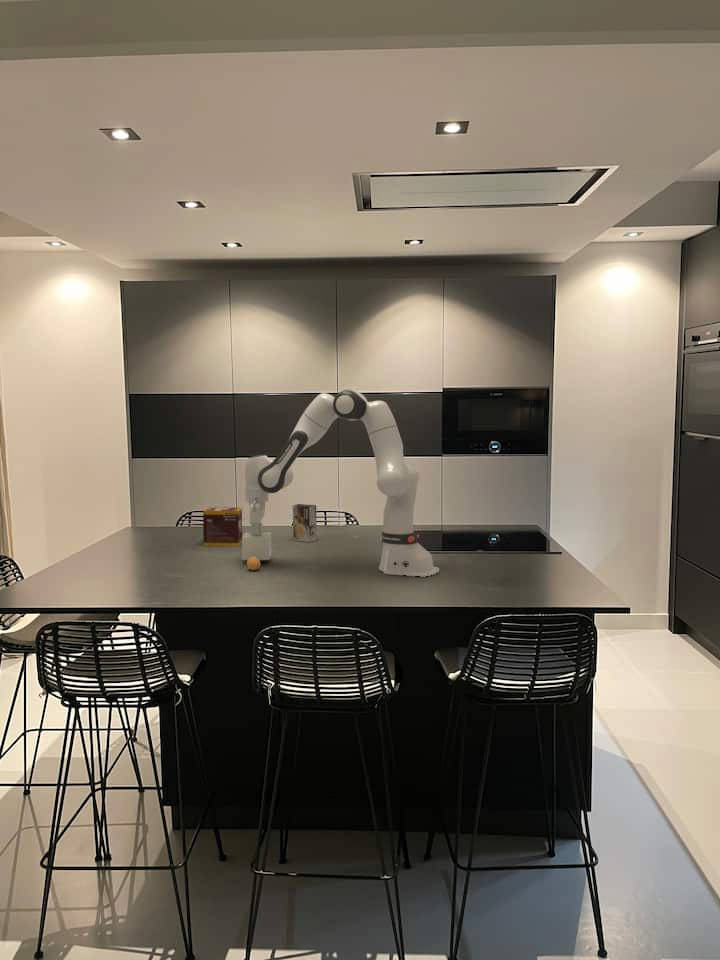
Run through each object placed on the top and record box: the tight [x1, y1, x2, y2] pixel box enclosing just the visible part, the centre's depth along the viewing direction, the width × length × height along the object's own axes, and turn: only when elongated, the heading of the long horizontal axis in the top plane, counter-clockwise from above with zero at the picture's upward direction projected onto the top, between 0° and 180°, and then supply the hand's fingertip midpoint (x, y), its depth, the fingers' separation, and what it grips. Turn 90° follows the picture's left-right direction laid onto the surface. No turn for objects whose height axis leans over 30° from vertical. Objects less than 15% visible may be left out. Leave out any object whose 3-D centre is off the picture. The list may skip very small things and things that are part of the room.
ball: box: [246, 557, 261, 572], centre depth 274 cm, size 5×5×5 cm
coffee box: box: [292, 503, 318, 543], centre depth 333 cm, size 9×6×16 cm
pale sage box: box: [241, 523, 272, 561], centre depth 288 cm, size 10×10×13 cm
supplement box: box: [202, 506, 243, 547], centre depth 324 cm, size 10×15×16 cm
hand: (257, 532), depth 288 cm, fingers closed on pale sage box, 4 cm apart
